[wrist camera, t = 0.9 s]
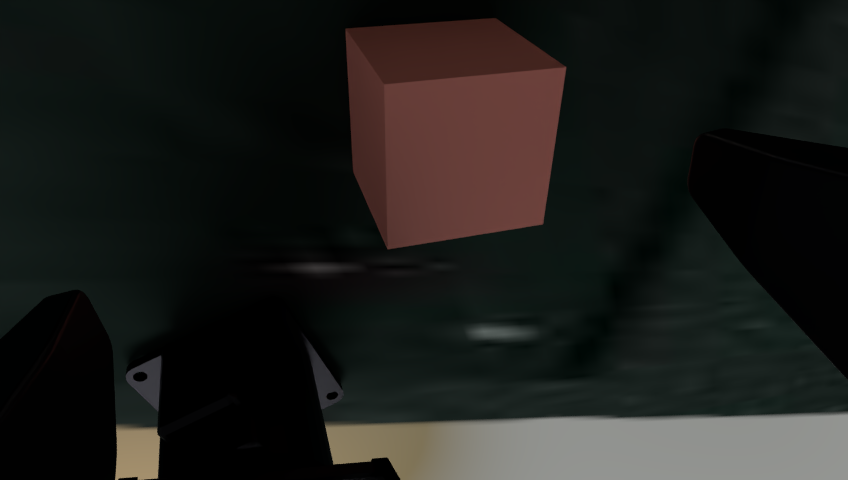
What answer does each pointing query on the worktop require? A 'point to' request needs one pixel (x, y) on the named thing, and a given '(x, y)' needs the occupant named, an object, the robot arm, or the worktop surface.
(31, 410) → the robot arm
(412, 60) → the red cube
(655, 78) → the worktop surface
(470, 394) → the worktop surface
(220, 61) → the worktop surface
